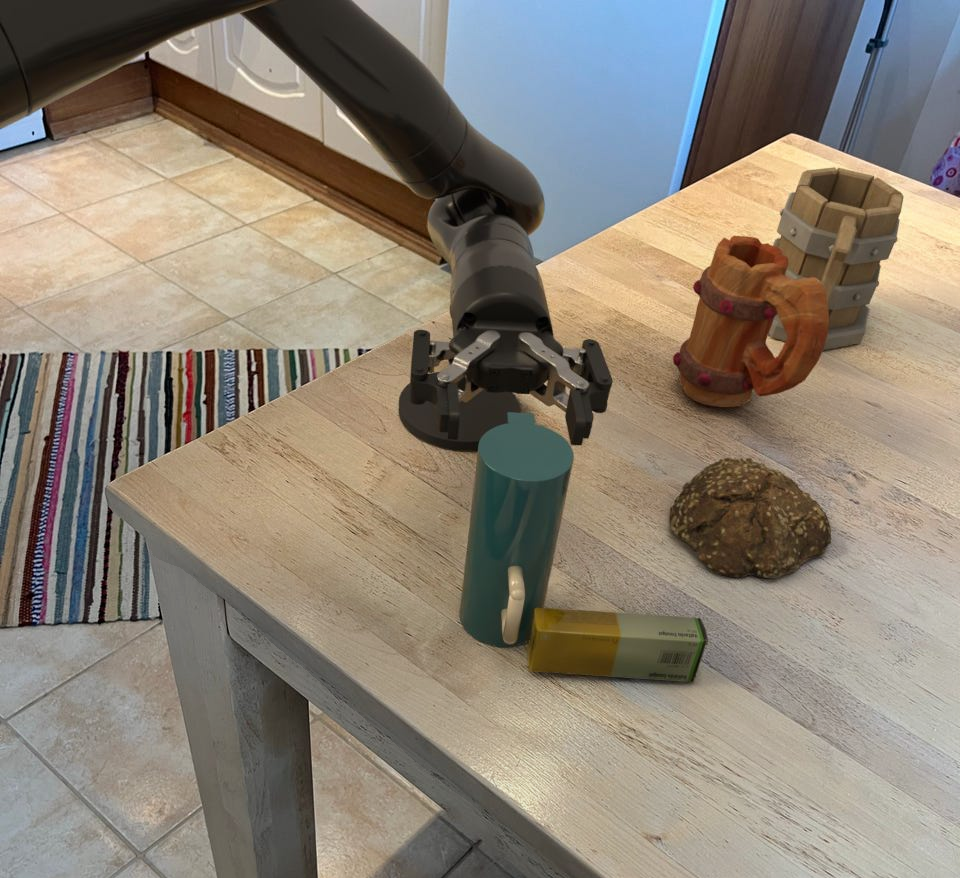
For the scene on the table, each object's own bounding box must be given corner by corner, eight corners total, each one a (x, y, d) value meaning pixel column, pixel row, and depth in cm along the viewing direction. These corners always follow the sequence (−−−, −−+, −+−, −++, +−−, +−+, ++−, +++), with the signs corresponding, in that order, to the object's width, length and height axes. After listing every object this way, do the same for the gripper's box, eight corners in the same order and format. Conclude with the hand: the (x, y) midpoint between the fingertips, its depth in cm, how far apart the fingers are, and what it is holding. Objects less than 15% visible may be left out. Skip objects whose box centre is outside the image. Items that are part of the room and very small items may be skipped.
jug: (457, 573, 75) (475, 407, 64) (535, 576, 75) (566, 412, 64) (461, 675, 68) (482, 507, 57) (547, 677, 68) (584, 512, 57)
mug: (649, 374, 96) (687, 224, 85) (715, 360, 99) (760, 213, 88) (740, 461, 88) (795, 307, 77) (809, 442, 91) (871, 291, 80)
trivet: (383, 435, 86) (383, 426, 85) (416, 370, 93) (416, 361, 92) (506, 462, 85) (507, 452, 84) (529, 393, 92) (530, 384, 91)
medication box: (689, 658, 71) (703, 616, 68) (696, 684, 69) (711, 641, 66) (525, 647, 70) (533, 604, 67) (527, 673, 68) (536, 630, 65)
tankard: (756, 279, 112) (800, 142, 101) (867, 307, 110) (923, 170, 99) (724, 363, 99) (770, 216, 88) (849, 397, 97) (912, 251, 86)
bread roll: (729, 465, 87) (745, 418, 84) (845, 540, 82) (868, 493, 78) (635, 521, 81) (648, 472, 77) (754, 606, 75) (774, 559, 72)
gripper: (410, 257, 73) (413, 378, 62) (596, 269, 75) (632, 389, 64) (405, 347, 79) (408, 472, 68) (580, 356, 80) (610, 480, 69)
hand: (517, 432), depth 66 cm, fingers open, 8 cm apart
